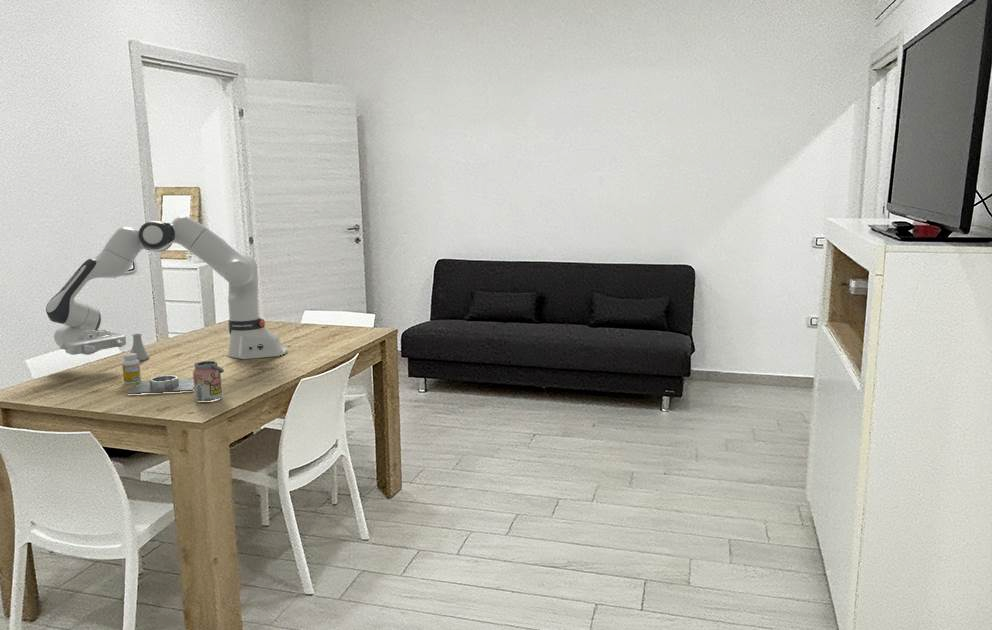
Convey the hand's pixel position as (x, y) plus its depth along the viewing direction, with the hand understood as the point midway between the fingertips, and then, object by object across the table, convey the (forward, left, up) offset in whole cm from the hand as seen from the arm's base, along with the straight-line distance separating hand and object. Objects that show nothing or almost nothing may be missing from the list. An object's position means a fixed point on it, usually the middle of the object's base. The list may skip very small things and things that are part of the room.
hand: (108, 346), depth 278 cm
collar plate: (-22, +20, -11) cm, 32 cm away
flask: (-3, -27, -11) cm, 29 cm away
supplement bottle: (-9, +8, -11) cm, 17 cm away
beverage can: (-39, +37, -11) cm, 55 cm away
